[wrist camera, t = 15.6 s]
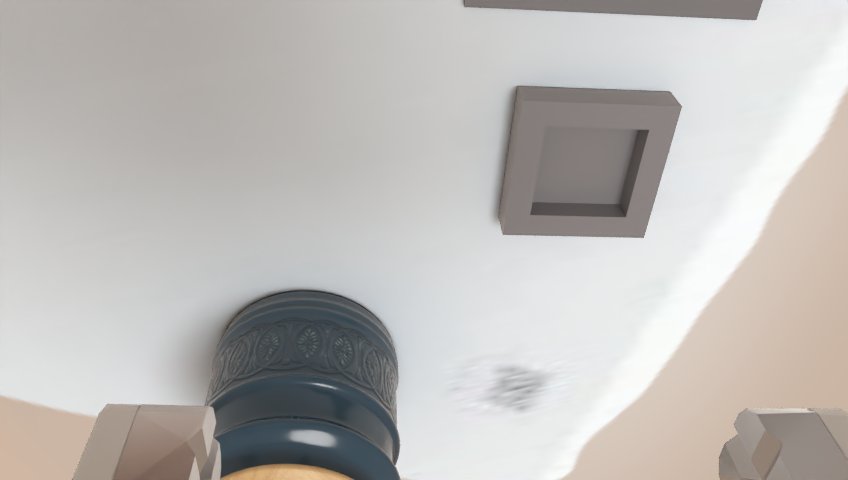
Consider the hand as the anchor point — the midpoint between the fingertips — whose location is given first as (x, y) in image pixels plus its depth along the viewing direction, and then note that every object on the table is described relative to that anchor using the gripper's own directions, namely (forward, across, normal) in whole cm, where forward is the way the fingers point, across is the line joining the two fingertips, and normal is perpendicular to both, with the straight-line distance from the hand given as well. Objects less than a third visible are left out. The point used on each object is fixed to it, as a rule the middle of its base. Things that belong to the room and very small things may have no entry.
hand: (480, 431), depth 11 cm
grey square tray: (+31, +11, -12) cm, 35 cm away
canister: (+31, -6, -29) cm, 43 cm away
